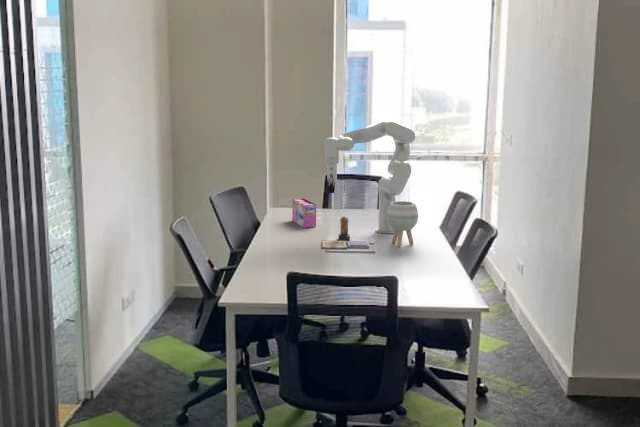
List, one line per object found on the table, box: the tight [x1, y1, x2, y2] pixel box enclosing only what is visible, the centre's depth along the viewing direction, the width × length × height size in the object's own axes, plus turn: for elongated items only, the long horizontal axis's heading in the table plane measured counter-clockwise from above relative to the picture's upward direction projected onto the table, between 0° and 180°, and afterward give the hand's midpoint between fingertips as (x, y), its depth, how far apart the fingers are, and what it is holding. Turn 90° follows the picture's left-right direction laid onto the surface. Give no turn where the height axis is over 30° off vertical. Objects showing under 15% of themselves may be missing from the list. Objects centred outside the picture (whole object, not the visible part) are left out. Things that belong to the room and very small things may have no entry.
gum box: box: [291, 197, 317, 229], centre depth 421 cm, size 24×8×14 cm, turn 21°
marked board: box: [321, 239, 348, 250], centre depth 367 cm, size 13×16×1 cm
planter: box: [387, 200, 419, 248], centre depth 367 cm, size 16×16×22 cm
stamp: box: [337, 216, 351, 241], centre depth 380 cm, size 6×6×13 cm
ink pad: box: [346, 240, 370, 249], centre depth 366 cm, size 11×11×2 cm
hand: (331, 191), depth 384 cm, fingers open, 9 cm apart
